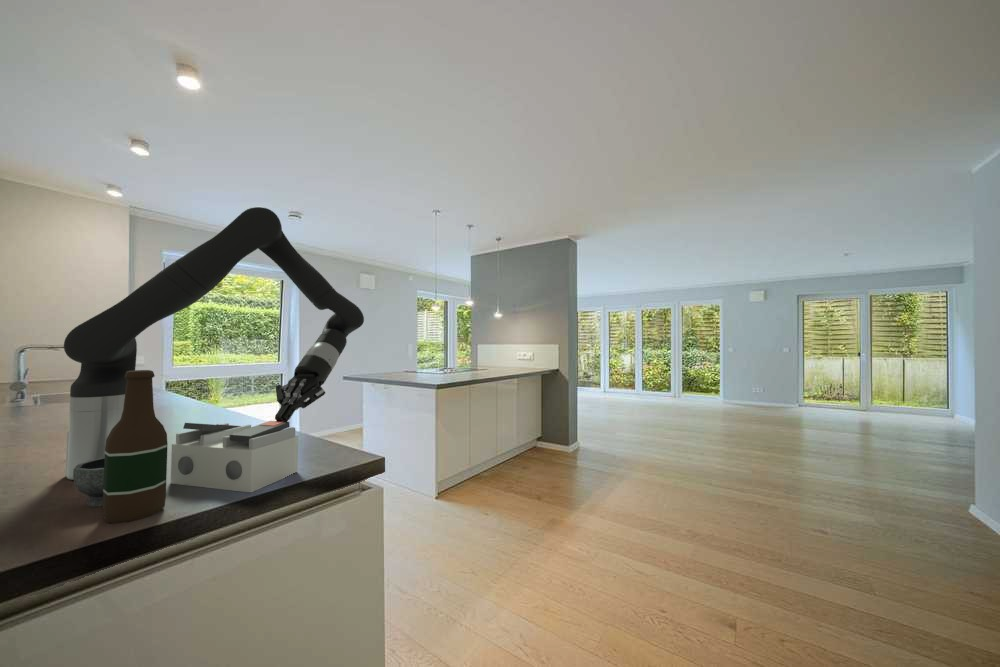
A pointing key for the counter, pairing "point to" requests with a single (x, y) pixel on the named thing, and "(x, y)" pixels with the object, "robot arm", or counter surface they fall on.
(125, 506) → the beer bottle
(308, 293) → the robot arm
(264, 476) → the box
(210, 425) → the bar
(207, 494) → the counter surface
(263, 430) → the rocker
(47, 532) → the counter surface
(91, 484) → the mortar and pestle
